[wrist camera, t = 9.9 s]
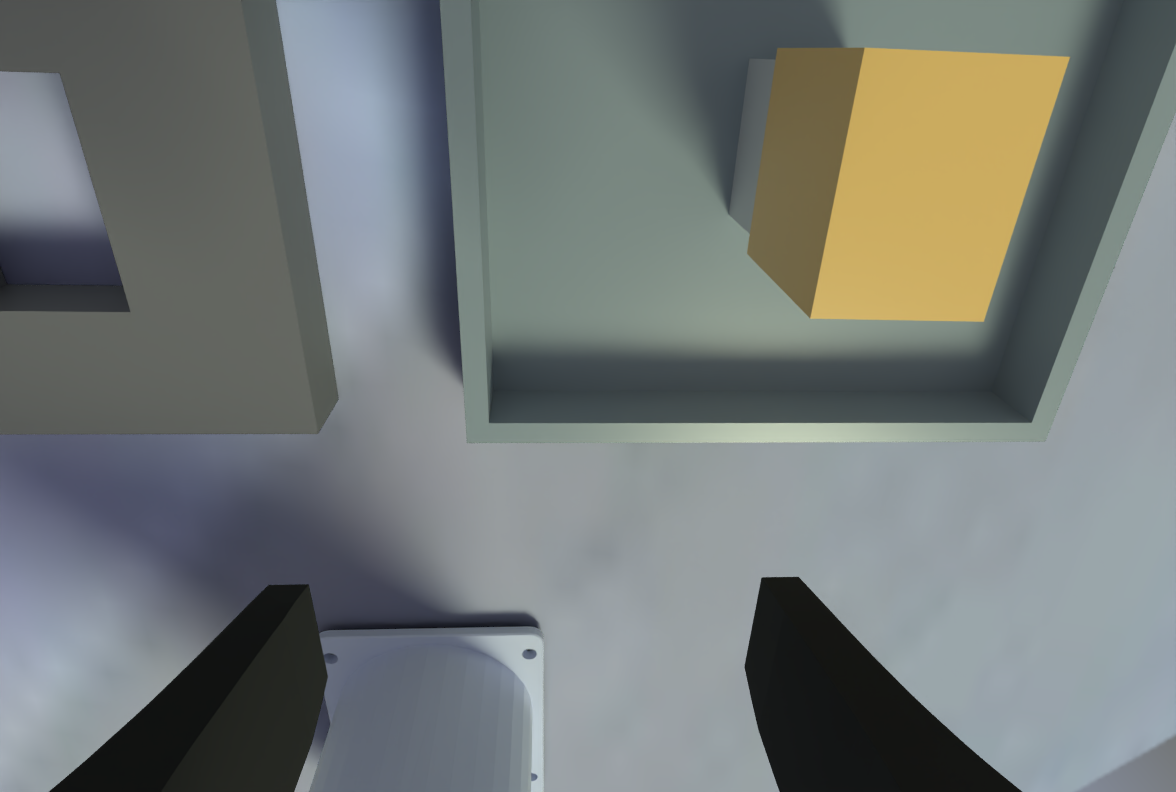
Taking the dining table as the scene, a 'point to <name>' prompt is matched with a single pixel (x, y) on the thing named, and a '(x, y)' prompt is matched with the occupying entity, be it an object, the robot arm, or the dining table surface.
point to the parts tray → (719, 244)
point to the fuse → (888, 175)
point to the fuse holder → (173, 229)
